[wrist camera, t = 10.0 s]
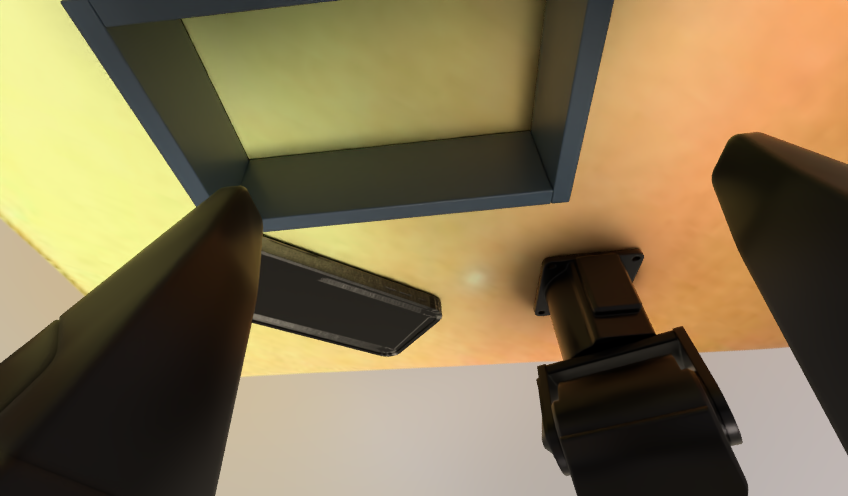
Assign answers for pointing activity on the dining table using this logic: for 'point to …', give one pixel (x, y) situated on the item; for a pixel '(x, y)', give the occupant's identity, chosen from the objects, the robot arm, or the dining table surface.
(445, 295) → the dining table surface
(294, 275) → the phone
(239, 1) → the bin
